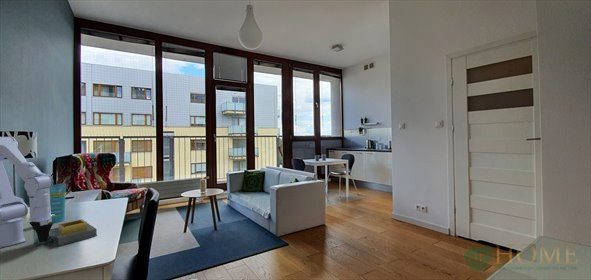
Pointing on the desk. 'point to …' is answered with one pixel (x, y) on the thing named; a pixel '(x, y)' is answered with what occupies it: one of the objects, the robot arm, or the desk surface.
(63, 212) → the tube
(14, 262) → the desk surface
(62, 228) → the grey and yellow block
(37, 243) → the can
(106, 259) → the desk surface
